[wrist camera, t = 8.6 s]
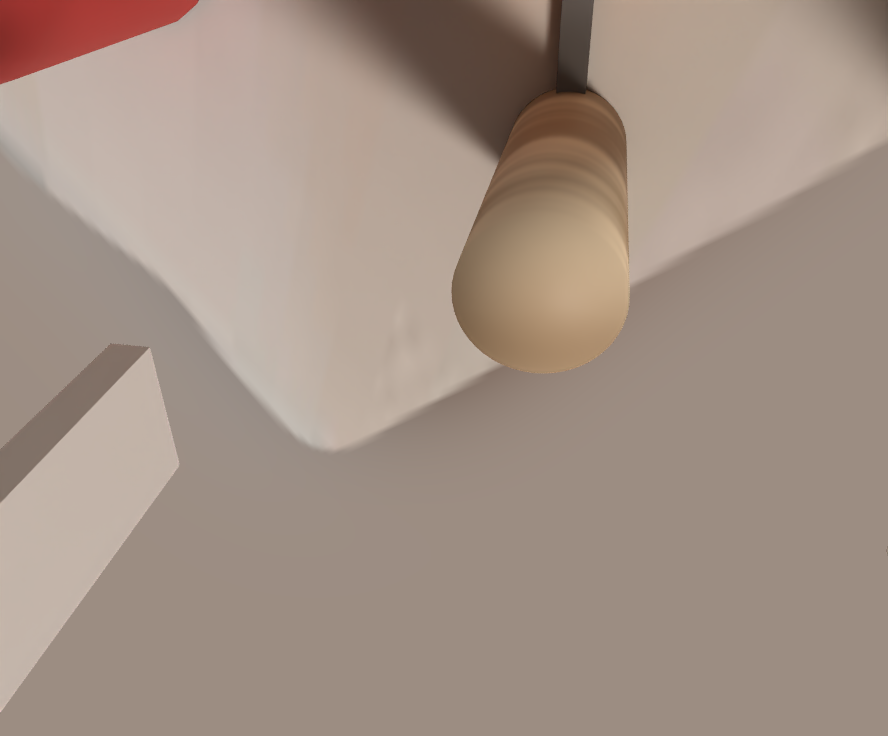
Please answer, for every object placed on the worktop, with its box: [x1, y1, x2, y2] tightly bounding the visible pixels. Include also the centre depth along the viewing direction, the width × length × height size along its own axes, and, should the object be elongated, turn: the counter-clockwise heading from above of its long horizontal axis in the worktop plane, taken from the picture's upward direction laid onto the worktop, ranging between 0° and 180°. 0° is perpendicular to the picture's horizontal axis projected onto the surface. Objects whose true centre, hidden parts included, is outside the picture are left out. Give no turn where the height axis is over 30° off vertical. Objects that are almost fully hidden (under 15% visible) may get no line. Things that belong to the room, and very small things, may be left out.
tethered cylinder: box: [452, 0, 629, 373], centre depth 21 cm, size 14×6×12 cm, turn 0°
